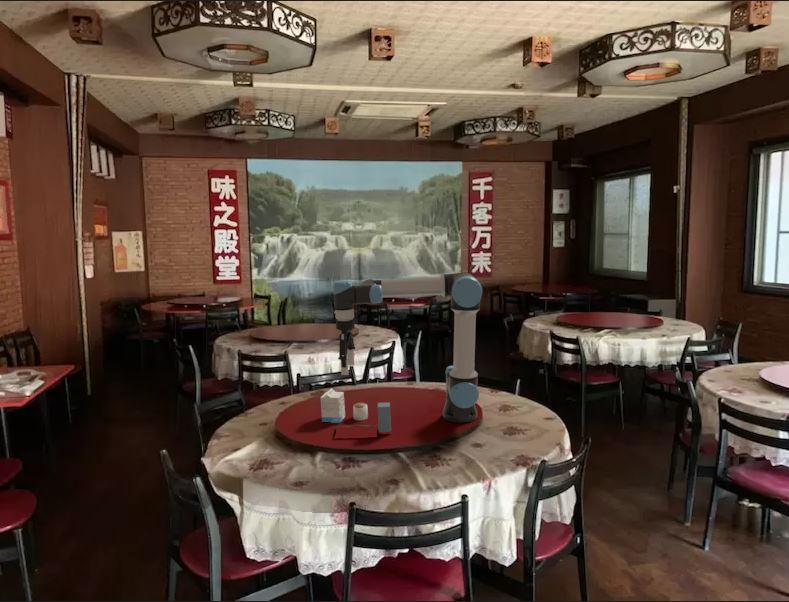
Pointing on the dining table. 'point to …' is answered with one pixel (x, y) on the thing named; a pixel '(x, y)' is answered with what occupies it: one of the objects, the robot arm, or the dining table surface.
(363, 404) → the white ceramic teacup
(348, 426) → the tea board
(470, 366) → the robot arm
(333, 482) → the dining table surface
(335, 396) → the ink box
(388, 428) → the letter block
